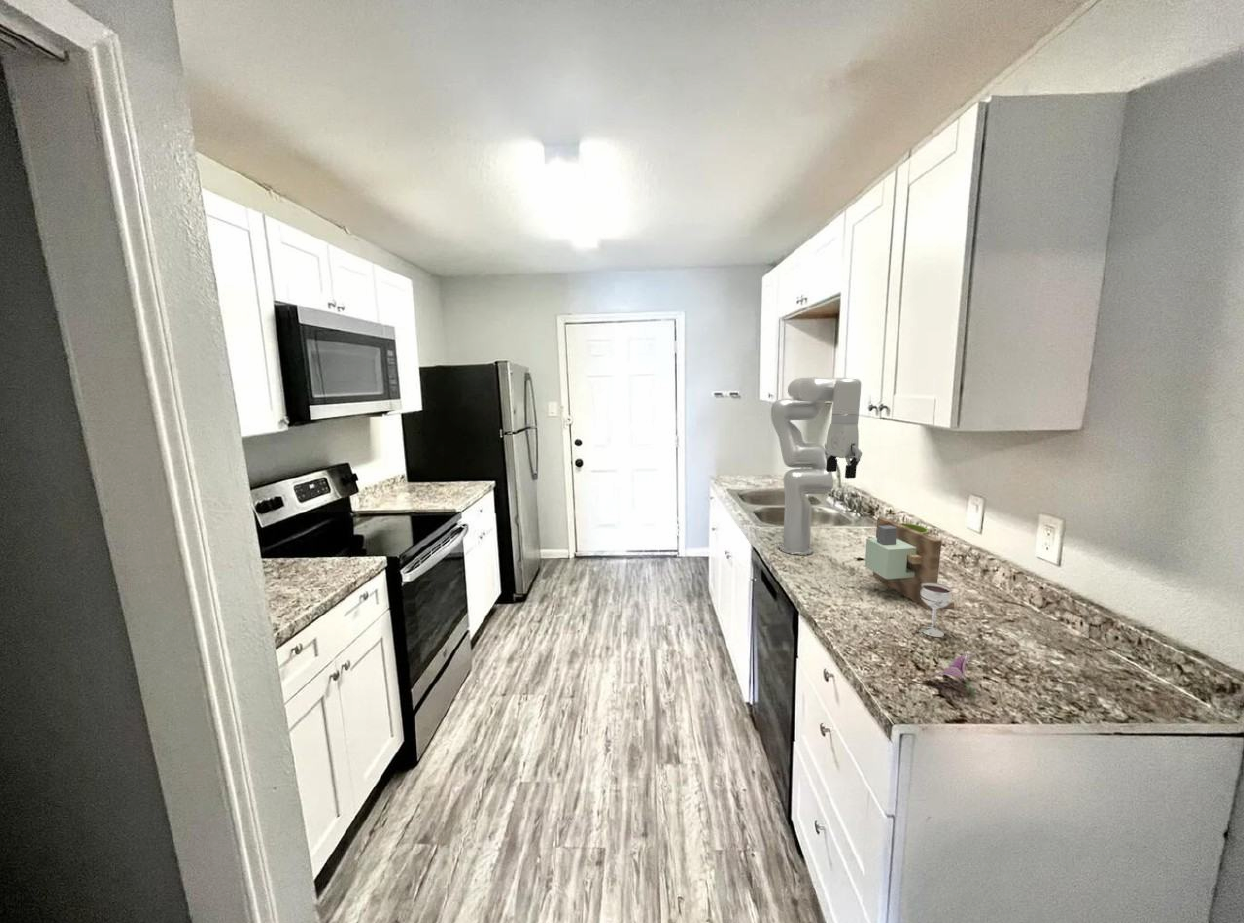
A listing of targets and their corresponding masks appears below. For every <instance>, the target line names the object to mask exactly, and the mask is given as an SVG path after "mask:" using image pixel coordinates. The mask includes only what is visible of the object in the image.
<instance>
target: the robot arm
mask: <svg viewBox="0 0 1244 923" xmlns="http://www.w3.org/2000/svg"><path fill="white" fill-rule="evenodd" d="M787 393H788V395H789V396H790V398H781V399H777V400H775V401H774V402H773V403H772V404H771V408H770V419H771V424H772V425H773V428H774V429H775V430H774V431H775V432H776V434H777V436H778V441H779V446H780V451H781V455H782V460H783V464H784V466H786V467H788V468H791V469H790V470H787V471H786V472H785V474H784V475H783V488H784V518H783V519H784V520H783V535H782V536H781V537H782V538H783V542H781V543H780V544H779V545H778V549H779V548H780V549H779V550H780V551H781V550H782V551H781V552H782V553H785V552H786V553H785V554H788V553H793V554H799V555H798V556H808V555H807V554H809V555H812V554H813V553H814V551H815V549H814V547H813V546H811V527H812V510H813V509H812V504H811V501H810V500H809V499H808V497H807V495H824V494H828V493H830V492H831V491H832V490H833V488H834V487H833V486H834V479H833V478H834V477H833V473H836V472H837V466H838V465H837V464H838V459H837V458H840V459H845V462H846V465H845V471H844V473H845V474H844V478H845V479H855V478H856V477H857V469H858V468H857V466H859V462H861V459H862V456H863V452H862V451H861V449H860V448H859V444H860V442H859V441H860V440H859V439H860V436H859V434H860V433H859V432H860V431H859V419H860V409H861V408H860V406H861V404H860V403H861V398H862V397H861V394H862V381H861V380H860V379H859V378H848V377H818V376H817V377H816V376H812V377H810V376H808V377H799V378H796V379H795V378H794V380H792V381H791V382H790V383H789V384H788V387H787ZM827 402H829V403H830V402H831V403H832V405H831V421H830V423H829V427H828V431H827V436H826V437H827V438H826V443H825V444H824V446H823V445H822V444H820V443H818V442H817V443H816V442H807V443H806V442H805V441H804V440H803V436H802V432H801V430H800V429H799V428H798V427H797V426H796V424H794V423H793V422H792V421H810V420H811V421H812V420H815V419H816V418H817V417H818V416H819V414H820V413H821V411H822V409H823V407H825V405H826V403H827ZM792 468H793V469H792ZM811 553H812V554H811ZM793 554H792V555H793Z"/></svg>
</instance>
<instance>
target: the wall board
mask: <svg viewBox="0 0 1244 923" xmlns="http://www.w3.org/2000/svg"><path fill="white" fill-rule="evenodd" d="M876 520H877V521H876V531H875V538H877V532H878V526H886V525H891V526H893V527H896V528H897V539H899V540H901V541H903V542H905V543H907V544H910V545H912V546H914V547H916V548H917V550H916V554H914V555H907V564H906V568H907V569H909V570H911V571H913V572H915V574H914V577H911V578H898V579H885V578H883V577H881V576H880V575H878V574H876V573H875V572H873V571H872V577H874V578H876V579H877V580H878V581H880V582H881V583H884V584H885V585H887V586H889V587H890V588H892V589H893V588H894V589H893V590H895V589H896V590H895V591H896V592H898V591H899V593H900V594H901V595H904V596H905V597H906V598H909V599H910V600H912V601H913V602H914V603H916V604H918V605H920V606H921V607H922V608H924V609H927V610H933V609H932V608H931V606H929V605H927V604H926V603H925V602H924V601H923V600H922V599H921V596H920V590H921V589H922V586H921V584H922V583H924V582H934V583H938V579H939V577H938V576H939V569H940V568H939V567H940V559H941V548H942V540H940V539H938V538H935V537H933V536H930V535H928V534H926V535H925V534H923V533H921V532H918V531H916V530H913V529H911V528H908V527H906V526H903V525H901V524H898V523H899V522H895V521H894V520H891V519H888V518H886V517H883V516H882V517H880V516H879V517H877V519H876ZM954 608H955V602H953V600H952V601H951V603H950V604H949V605H948V606H946V607H944V608H938V609H937V610H940V609H941V610H943V609H954Z"/></svg>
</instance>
